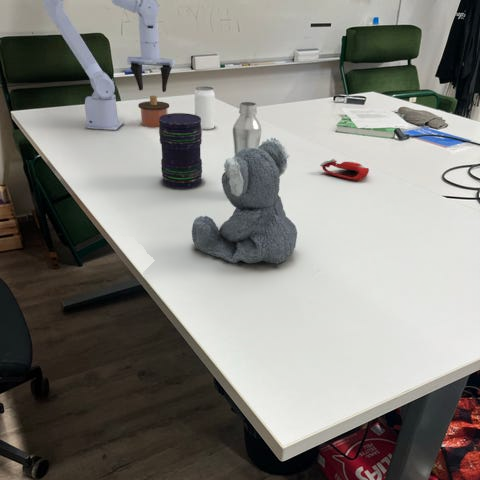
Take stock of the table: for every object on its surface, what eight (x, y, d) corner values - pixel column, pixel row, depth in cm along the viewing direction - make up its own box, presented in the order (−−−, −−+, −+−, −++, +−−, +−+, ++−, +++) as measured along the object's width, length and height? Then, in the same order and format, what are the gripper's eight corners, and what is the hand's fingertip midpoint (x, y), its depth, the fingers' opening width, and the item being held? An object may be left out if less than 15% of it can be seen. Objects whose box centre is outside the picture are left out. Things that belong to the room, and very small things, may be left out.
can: (213, 130, 157) (214, 90, 150) (194, 129, 157) (193, 89, 150) (215, 125, 162) (215, 86, 155) (196, 124, 162) (195, 85, 155)
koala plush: (243, 220, 101) (247, 124, 90) (315, 248, 92) (330, 145, 81) (185, 249, 90) (181, 143, 79) (260, 283, 81) (268, 169, 70)
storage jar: (209, 180, 120) (209, 117, 111) (188, 192, 113) (186, 126, 104) (176, 172, 124) (174, 110, 115) (154, 183, 116) (149, 119, 108)
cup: (138, 126, 157) (137, 108, 154) (145, 120, 164) (144, 102, 161) (164, 128, 157) (163, 110, 154) (170, 121, 164) (169, 104, 160)
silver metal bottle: (261, 191, 115) (267, 102, 103) (253, 201, 110) (258, 109, 98) (236, 187, 117) (239, 99, 105) (226, 197, 111) (228, 105, 99)
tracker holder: (354, 163, 131) (378, 165, 123) (351, 179, 133) (374, 183, 124) (318, 156, 126) (341, 158, 117) (315, 173, 127) (337, 177, 119)
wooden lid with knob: (134, 109, 154) (133, 98, 152) (143, 102, 162) (142, 92, 160) (165, 111, 153) (164, 100, 151) (172, 104, 161) (171, 94, 159)
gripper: (122, 42, 144) (127, 91, 152) (169, 45, 143) (172, 94, 151) (129, 39, 149) (133, 87, 157) (174, 42, 148) (176, 90, 156)
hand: (152, 90), depth 154 cm, fingers open, 7 cm apart
